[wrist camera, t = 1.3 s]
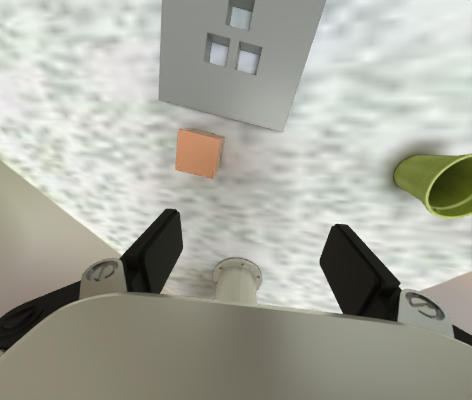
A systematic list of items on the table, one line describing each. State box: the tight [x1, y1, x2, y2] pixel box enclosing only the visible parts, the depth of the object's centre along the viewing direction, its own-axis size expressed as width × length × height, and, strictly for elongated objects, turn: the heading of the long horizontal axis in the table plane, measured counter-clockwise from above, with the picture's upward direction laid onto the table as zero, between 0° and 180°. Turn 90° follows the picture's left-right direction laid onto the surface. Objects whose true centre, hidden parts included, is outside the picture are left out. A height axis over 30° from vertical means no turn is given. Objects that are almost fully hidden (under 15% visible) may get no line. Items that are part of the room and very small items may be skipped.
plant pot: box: [394, 154, 472, 219], centre depth 27 cm, size 9×9×9 cm
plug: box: [175, 128, 224, 179], centre depth 29 cm, size 6×6×7 cm
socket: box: [159, 0, 326, 132], centre depth 24 cm, size 20×20×3 cm
